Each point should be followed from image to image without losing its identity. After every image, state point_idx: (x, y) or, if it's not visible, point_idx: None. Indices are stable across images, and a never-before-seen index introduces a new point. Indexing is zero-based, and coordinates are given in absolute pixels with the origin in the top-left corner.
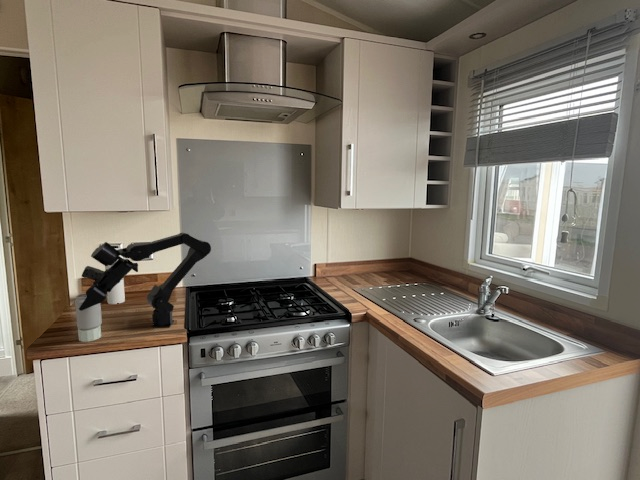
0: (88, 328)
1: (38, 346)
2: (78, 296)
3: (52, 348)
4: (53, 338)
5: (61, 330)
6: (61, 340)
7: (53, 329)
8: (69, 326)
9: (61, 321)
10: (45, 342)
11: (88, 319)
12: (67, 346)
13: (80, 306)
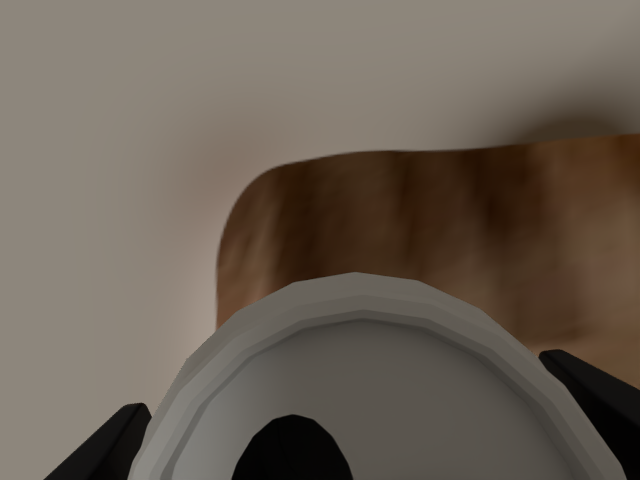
0: (261, 437)
1: (278, 174)
2: (334, 323)
3: (231, 246)
4: (372, 198)
5: (488, 192)
6: (334, 248)
7: (506, 149)
8: (552, 209)
9: (635, 139)
10: (323, 183)
11: (237, 466)
12: (235, 312)
13: (77, 449)
